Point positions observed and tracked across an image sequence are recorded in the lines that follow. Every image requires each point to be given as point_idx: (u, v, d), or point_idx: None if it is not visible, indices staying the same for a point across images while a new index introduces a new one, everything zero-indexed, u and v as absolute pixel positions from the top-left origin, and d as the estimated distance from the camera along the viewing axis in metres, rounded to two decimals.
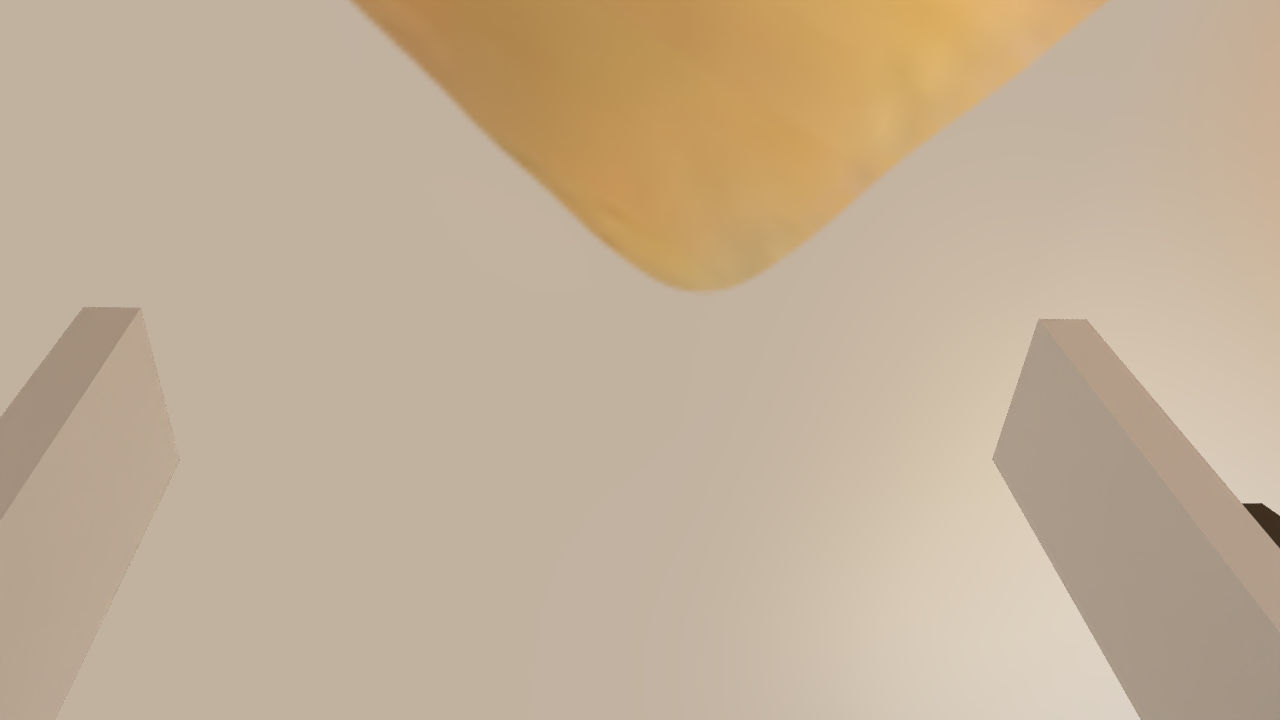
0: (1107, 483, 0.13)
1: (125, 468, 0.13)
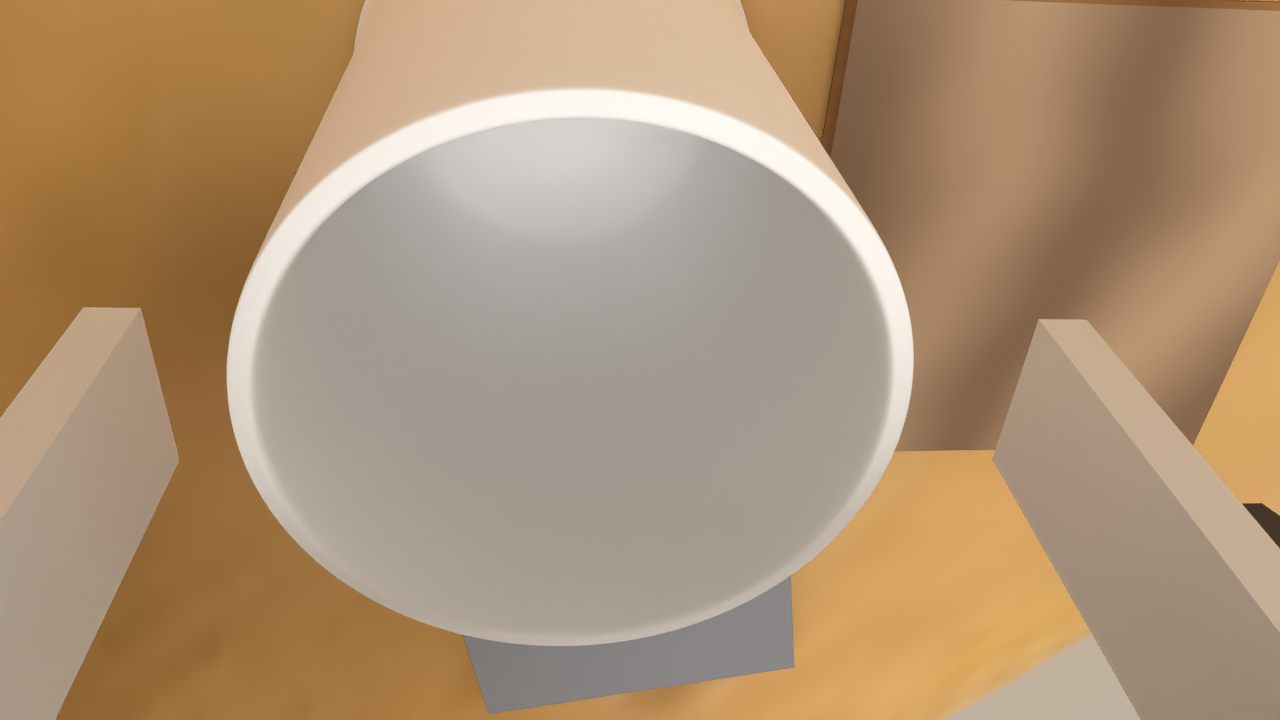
0: (1107, 483, 0.13)
1: (125, 468, 0.13)
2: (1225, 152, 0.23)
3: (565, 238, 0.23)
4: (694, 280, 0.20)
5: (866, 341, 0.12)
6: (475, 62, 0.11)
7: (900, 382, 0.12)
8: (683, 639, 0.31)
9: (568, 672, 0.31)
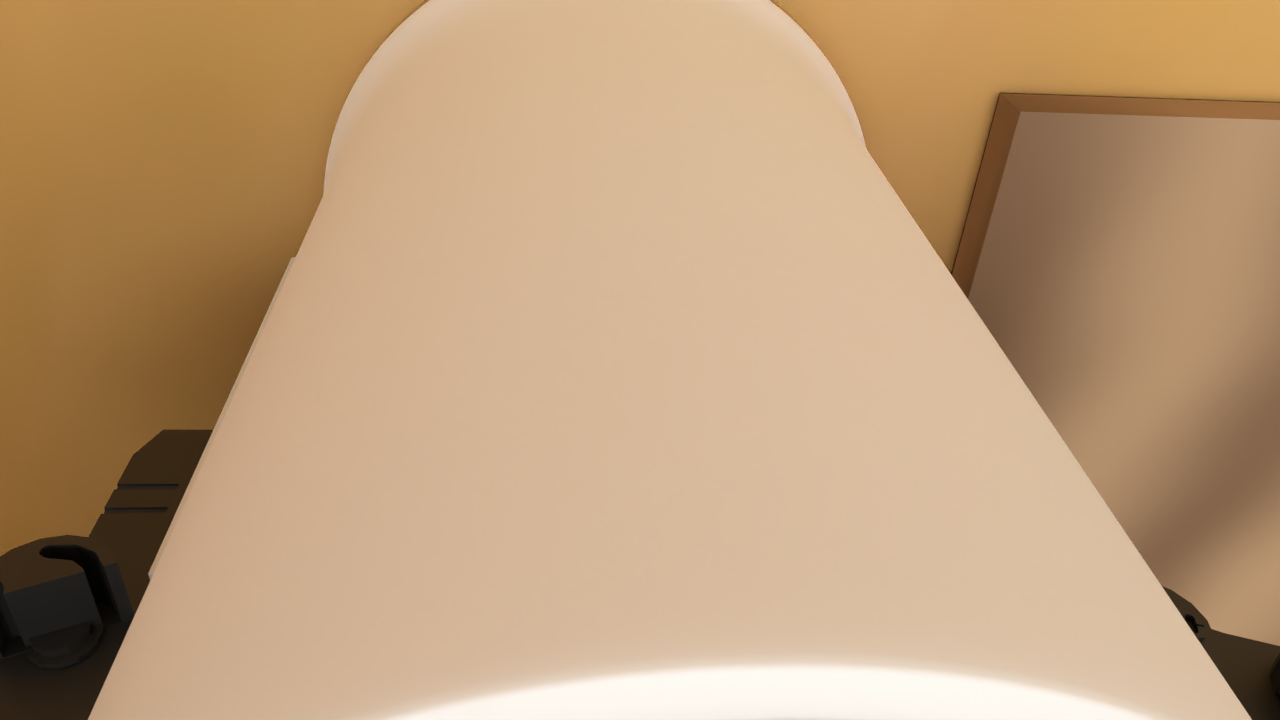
0: None
1: None
2: None
3: None
4: None
5: None
6: (482, 489, 0.05)
7: None
8: None
9: None
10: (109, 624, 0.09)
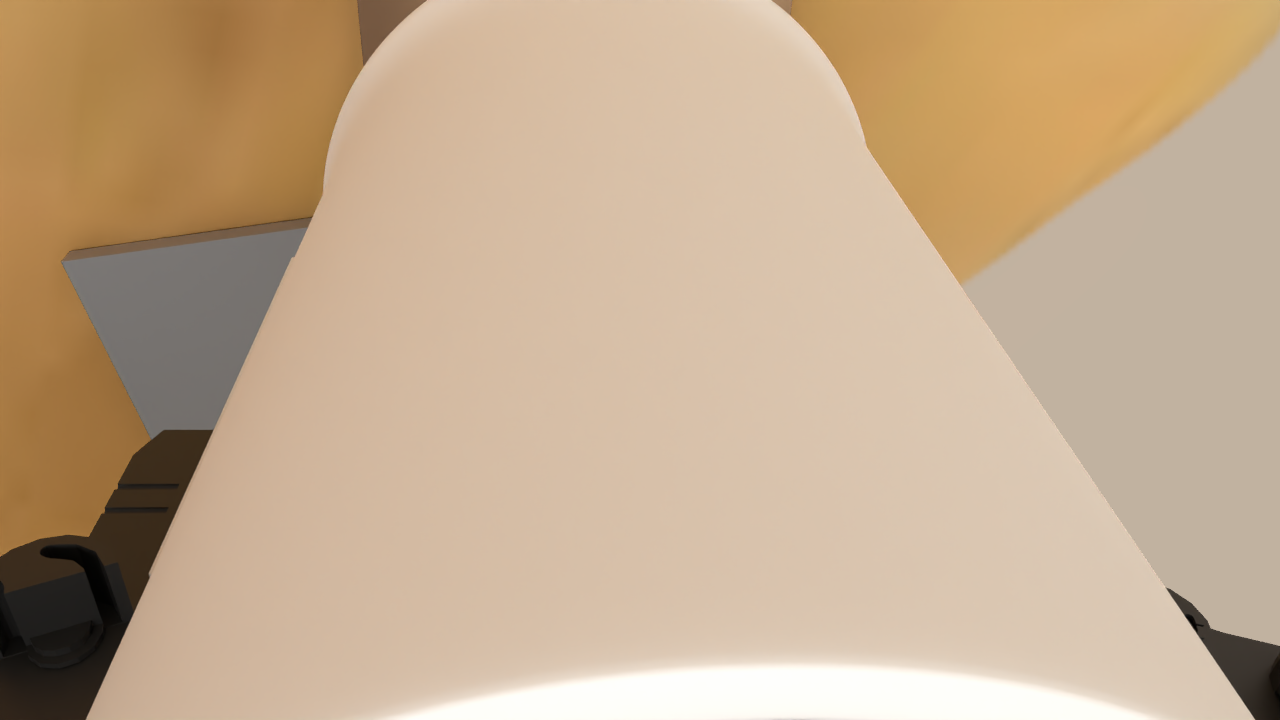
0: None
1: None
2: None
3: None
4: None
5: None
6: (481, 487, 0.05)
7: None
8: None
9: None
10: (109, 624, 0.09)
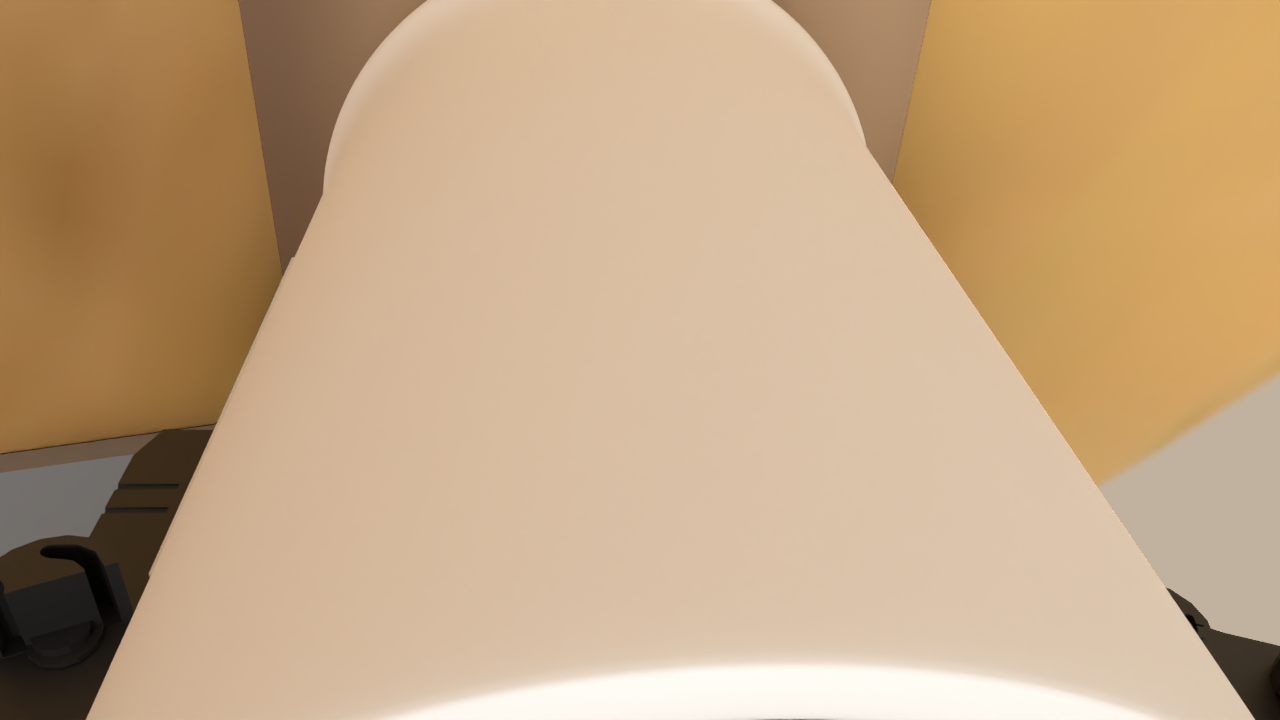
0: None
1: None
2: None
3: None
4: None
5: None
6: (480, 487, 0.05)
7: None
8: None
9: None
10: (109, 624, 0.09)
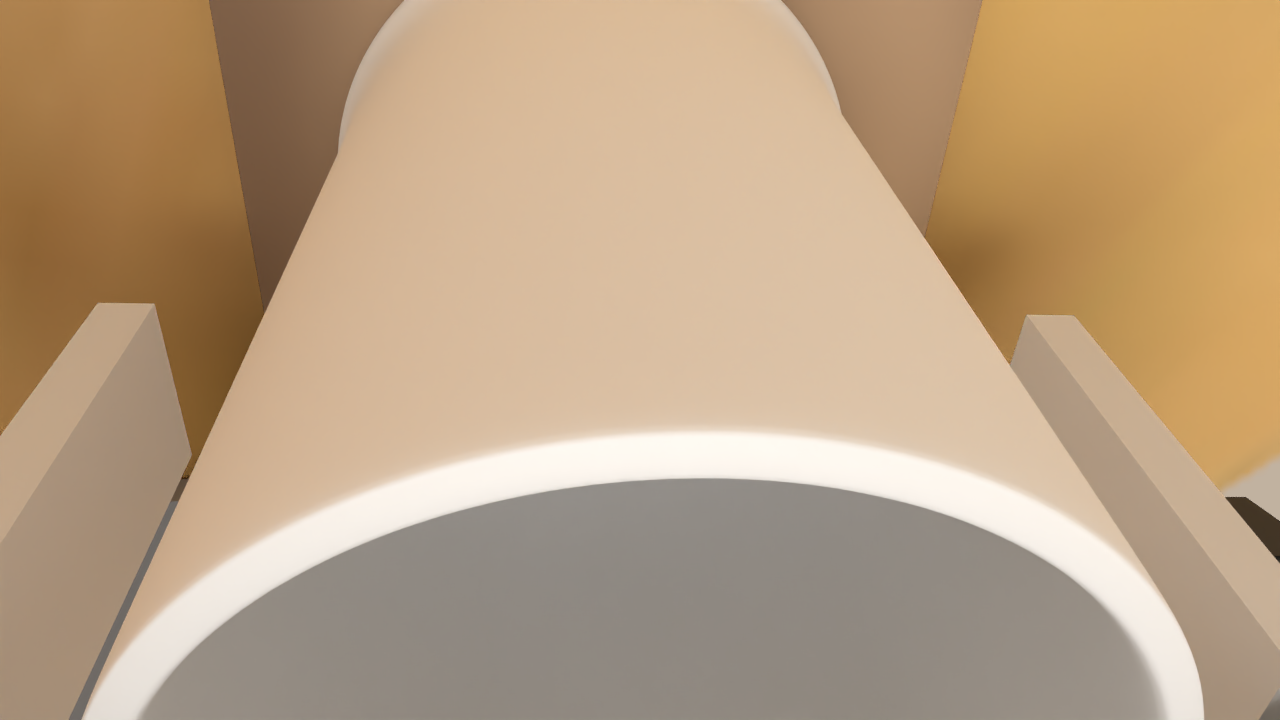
0: (1092, 477, 0.13)
1: (140, 462, 0.13)
2: None
3: None
4: None
5: (1100, 712, 0.08)
6: (491, 327, 0.06)
7: None
8: None
9: None
10: None
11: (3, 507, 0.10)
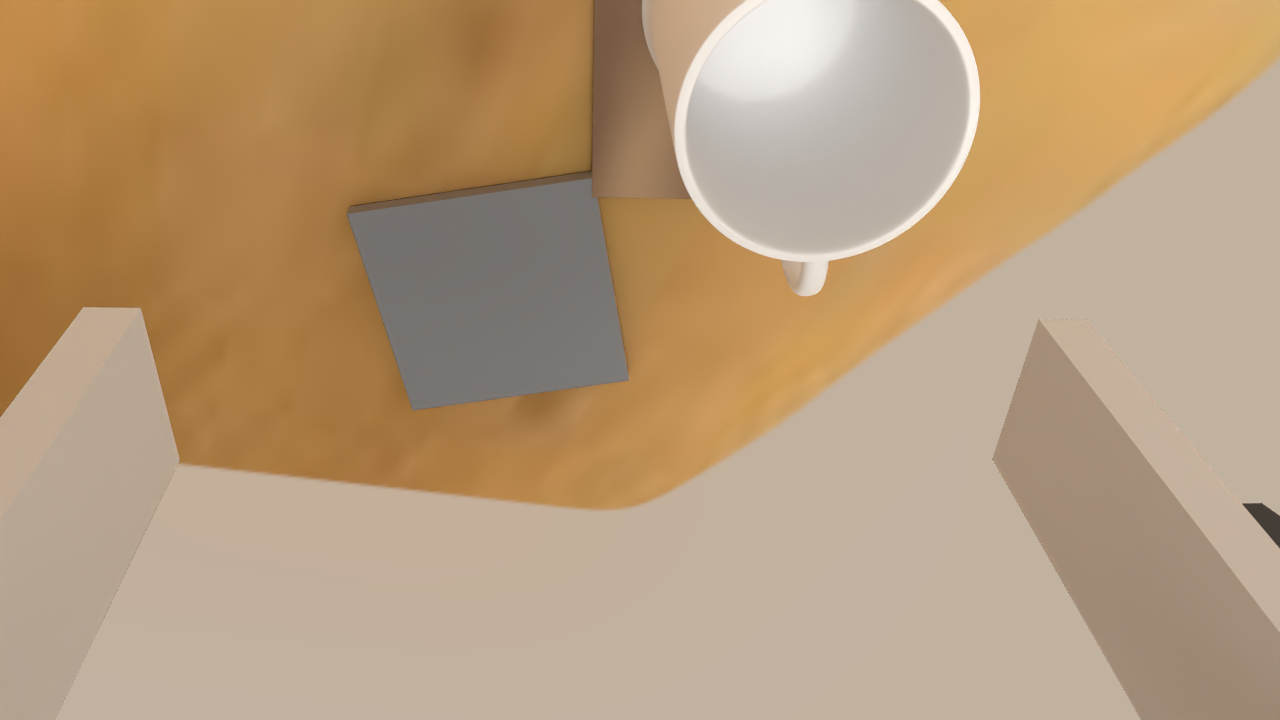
0: (1107, 483, 0.13)
1: (125, 468, 0.13)
2: None
3: (759, 99, 0.37)
4: (847, 112, 0.34)
5: (957, 97, 0.26)
6: None
7: (973, 111, 0.26)
8: (545, 351, 0.44)
9: (466, 376, 0.45)
10: None
11: None
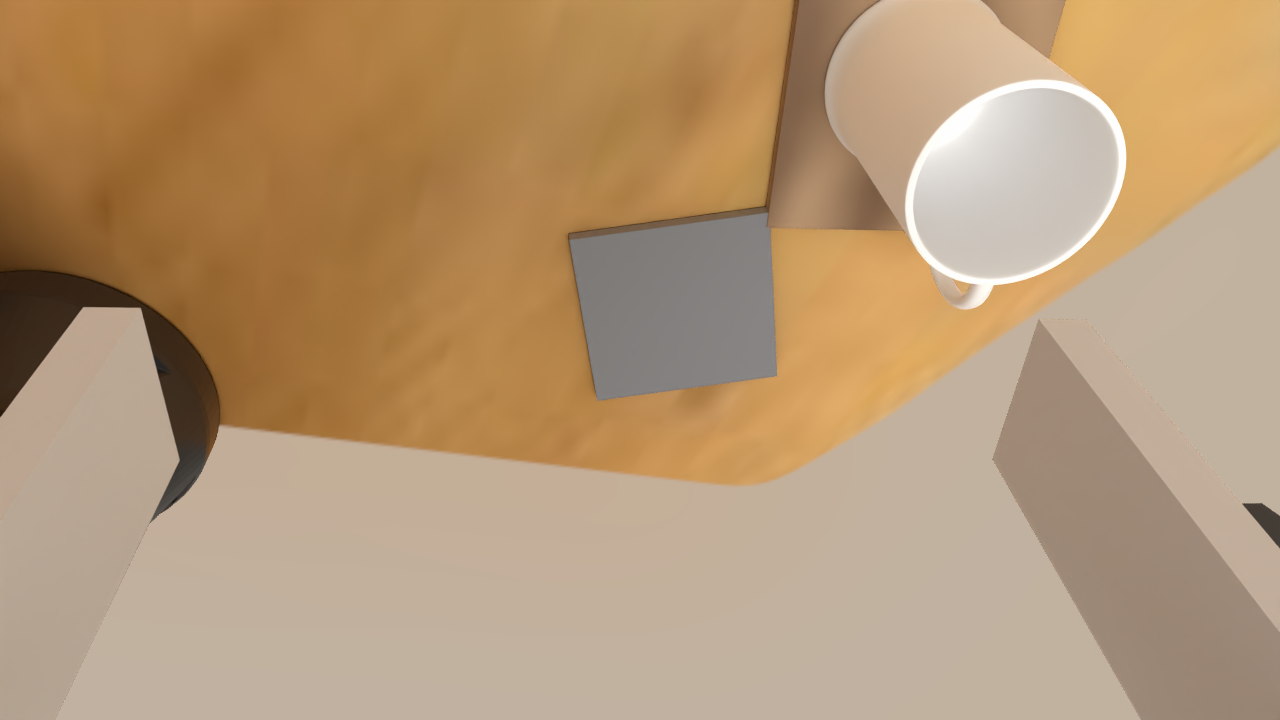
0: (1107, 483, 0.13)
1: (125, 468, 0.13)
2: None
3: None
4: (991, 167, 0.44)
5: (1105, 167, 0.37)
6: (999, 71, 0.35)
7: (1120, 178, 0.36)
8: (712, 352, 0.54)
9: (645, 372, 0.54)
10: None
11: None
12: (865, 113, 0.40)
